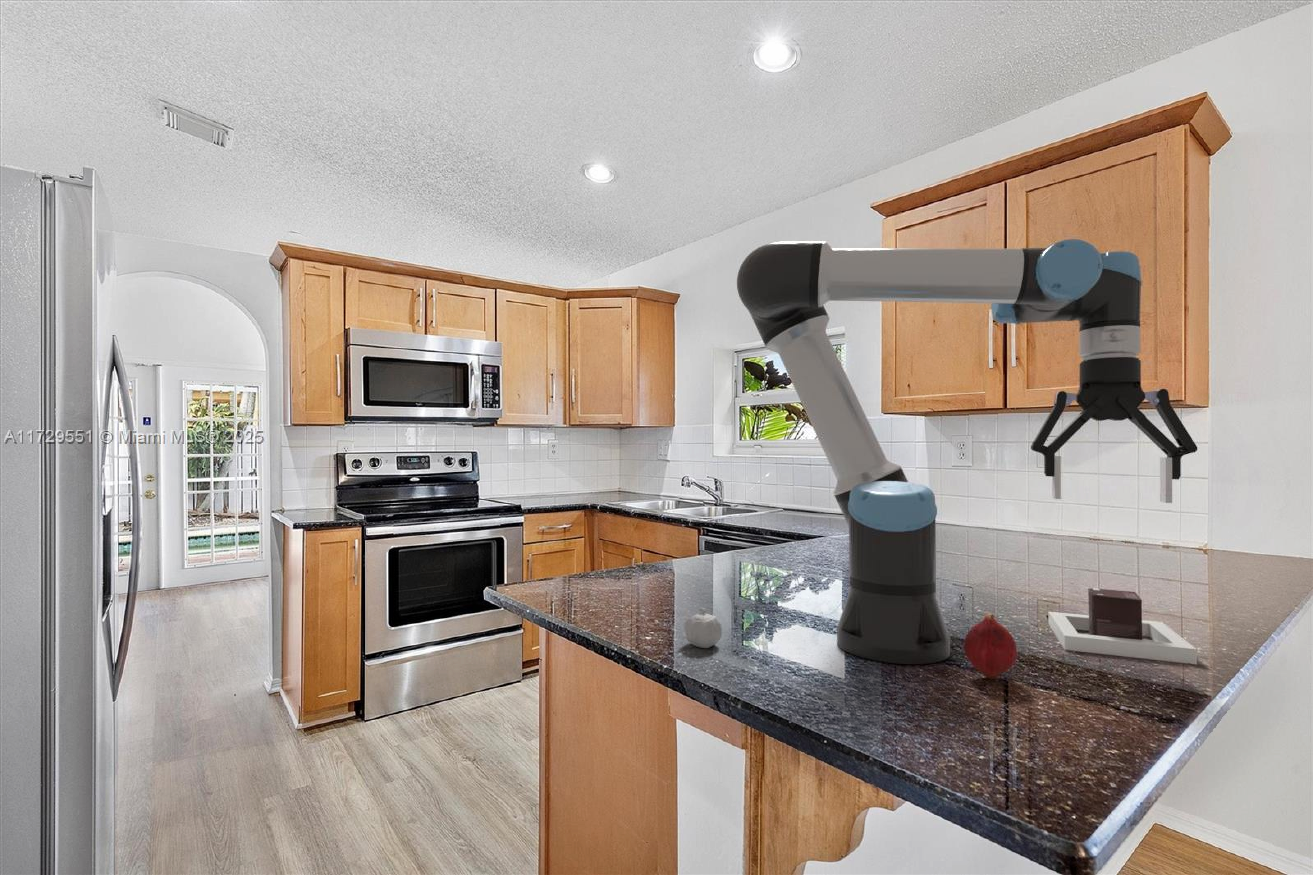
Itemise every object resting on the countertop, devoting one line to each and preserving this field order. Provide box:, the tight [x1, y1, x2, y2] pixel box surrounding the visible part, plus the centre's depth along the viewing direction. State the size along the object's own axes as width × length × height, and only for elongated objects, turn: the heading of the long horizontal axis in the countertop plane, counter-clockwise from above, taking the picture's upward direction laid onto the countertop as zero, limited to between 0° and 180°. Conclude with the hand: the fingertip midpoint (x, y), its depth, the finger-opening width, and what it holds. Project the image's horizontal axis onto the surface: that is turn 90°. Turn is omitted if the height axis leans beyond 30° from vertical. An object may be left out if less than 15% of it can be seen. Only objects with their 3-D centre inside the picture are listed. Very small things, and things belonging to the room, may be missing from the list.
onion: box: [963, 612, 1018, 680], centre depth 80 cm, size 6×6×8 cm
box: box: [1087, 587, 1143, 640], centre depth 95 cm, size 6×6×7 cm
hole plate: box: [1048, 611, 1198, 665], centre depth 95 cm, size 15×15×2 cm
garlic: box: [683, 607, 723, 649], centre depth 93 cm, size 6×5×5 cm
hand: (1109, 500), depth 96 cm, fingers open, 13 cm apart
